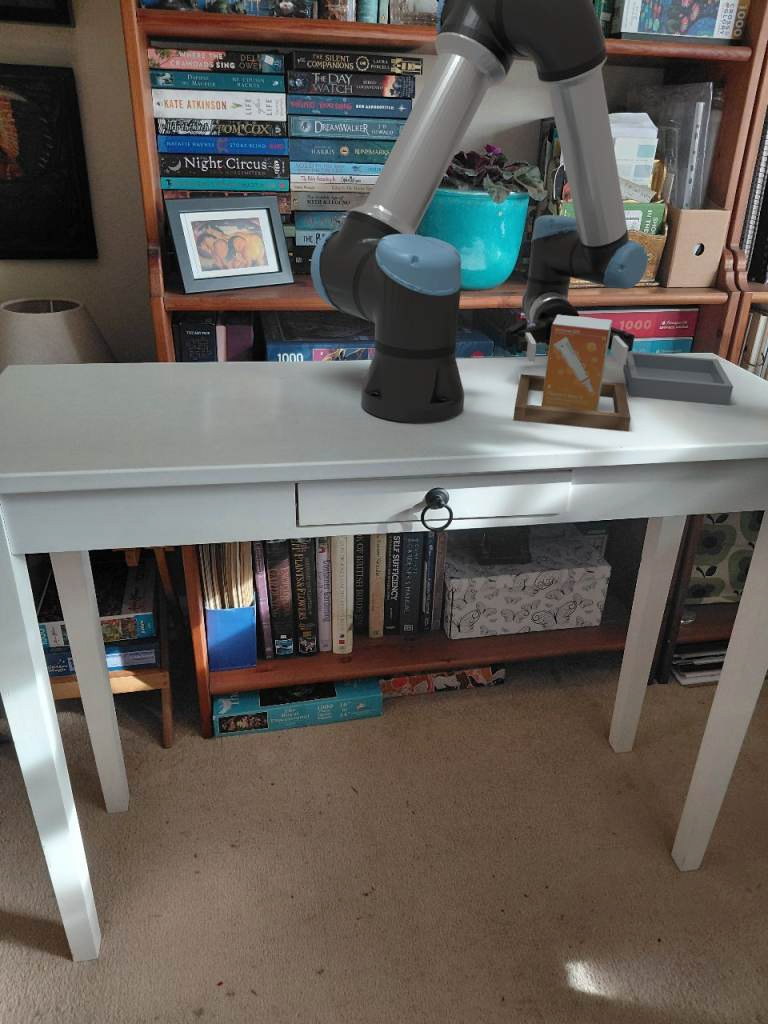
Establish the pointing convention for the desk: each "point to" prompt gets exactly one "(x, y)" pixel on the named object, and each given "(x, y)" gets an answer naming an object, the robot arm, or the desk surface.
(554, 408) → the walnut frame
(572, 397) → the small box
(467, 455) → the desk surface
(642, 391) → the slate tray
